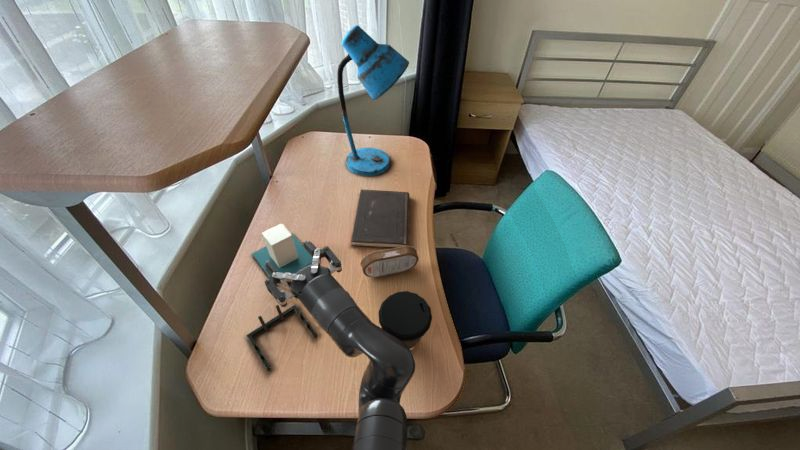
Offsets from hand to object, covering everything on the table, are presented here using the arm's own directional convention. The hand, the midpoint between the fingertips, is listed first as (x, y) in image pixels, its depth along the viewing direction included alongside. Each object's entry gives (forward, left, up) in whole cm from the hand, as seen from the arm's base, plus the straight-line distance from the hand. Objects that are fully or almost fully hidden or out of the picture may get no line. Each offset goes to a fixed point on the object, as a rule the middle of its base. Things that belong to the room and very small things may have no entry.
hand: (287, 253), depth 68 cm
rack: (-8, -7, -16) cm, 20 cm away
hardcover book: (+33, +8, -17) cm, 38 cm away
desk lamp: (+50, +33, -17) cm, 62 cm away
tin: (+22, -9, -17) cm, 29 cm away
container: (+3, +13, -16) cm, 21 cm away
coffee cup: (+12, -25, -17) cm, 32 cm away
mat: (+3, +13, -16) cm, 21 cm away
